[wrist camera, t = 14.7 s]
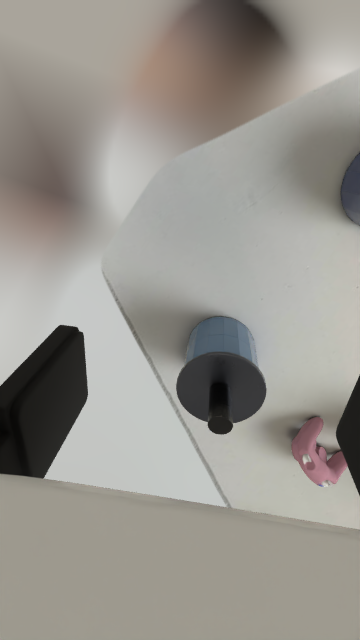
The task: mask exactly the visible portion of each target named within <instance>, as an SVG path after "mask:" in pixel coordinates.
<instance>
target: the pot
mask: <svg viewBox="0 0 360 640" xmlns="http://www.w3.org/2000/svg"><path fill="white" fill-rule="evenodd" d="M220 351H221V352H230V353H234V354H238V355H240V356H243V357H245V358H247V359H248V360H250V361H251V362H252V363H254V364H255V365H256V366H257V367H258V362H257V356H256V351H255V345H254V339H253V337H252V335H251V333H250V331H249V330H248V328H247V327H246V326H245V325H243V324H242V323H241V322H239V321H237V320H235V319H232V318H228V317H213V318H209V319H207V320H204V321H203V322H201V323H199V324H198V325H197V326H196V327H195V328H194V329H193V331H192V333H191V335H190V337H189V342H188V346H187V351H186V357H185V362H184V366H185V365H186V364H187V363H188V362H189V361H190V360H192V359H193V358H195V357H197V356H199V355H202V354H205V353H209V352H220Z"/></svg>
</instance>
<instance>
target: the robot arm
mask: <svg viewBox="0 0 360 640" xmlns="http://www.w3.org/2000/svg"><path fill="white" fill-rule="evenodd" d="M85 362H86V361H85V348H84V335H83V332H79V330H78V328H77V327H73V326H65V325H60V326H58V327H57V328H56V329H55V330H54V331H53V332H52V333H51V334H50V335H49V336H48V338H47V339H45V341H44V342H43V343H42V344H41V345H40V346H39V347H38V348H37V349H36V350H35V351H34V352H33V353H32V354H31V355H30V356H29V357H28V358H27V359H26V360H25V361H24V362H23V363H22V364H21V365H20V366H19V367H18V368H17V369H16V370H15V371H14V372H13V373H12V375H11V376H10V377H9V378H8V379H7V380H6V381H5V382H4V383H3V384H2V385H1V386H0V640H360V530H358V529H352V528H346V527H340V526H334V525H328V524H322V523H316V522H311V521H305V520H299V519H293V518H287V517H281V516H275V515H269V514H263V513H257V512H251V511H245V510H239V509H233V508H227V507H220V506H214V505H208V504H202V503H196V502H190V501H184V500H177V499H172V498H165V497H159V496H153V495H147V494H140V493H133V492H127V491H121V490H114V489H109V488H103V487H96V486H90V485H84V484H76V483H70V482H63V481H56V480H48V479H43V478H44V477H45V475H46V473H47V471H48V469H49V467H50V466H51V464H52V462H53V460H54V459H55V457H56V455H57V453H58V451H59V450H60V448H61V446H62V444H63V442H64V441H65V439H66V437H67V435H68V433H69V431H70V430H71V428H72V426H73V424H74V423H75V421H76V419H77V417H78V415H79V414H80V412H81V410H82V408H83V406H84V405H85V403H86V400H87V396H88V389H87V375H86V363H85ZM336 438H337V441H338V443H339V446H340V448H341V451H342V453H343V456H344V458H345V461H346V463H347V466H348V468H349V471H350V473H351V475H352V478H353V480H354V483H355V485H356V488H357V490H358V493H359V495H360V376H359V378H358V380H357V383H356V385H355V387H354V390H353V392H352V394H351V397H350V399H349V401H348V403H347V406H346V408H345V410H344V413H343V415H342V417H341V420H340V422H339V424H338V427H337V430H336Z"/></svg>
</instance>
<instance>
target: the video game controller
mask: <svg viewBox="0 0 360 640" xmlns="http://www.w3.org/2000/svg"><path fill="white" fill-rule="evenodd" d="M322 427H323V420H322V419H321V418H320V417H314V418H312V419H310V420H309V421H307V422H306V423H305V424H304V425H303V426H302V428H301V429H300V431H299V432H298V434H297V436H296V437H295V438H294V439H293V441H292V445H291V446H292V453H293V456H294V458H295V459H296V460H297V461H298V462H299V464H300V466H301V468H302V470H303V471H304V472H305V474H306V475H307V476H308V477H309V479H310V480H312V481H313V482H314V483H316V484H317V485H319V486H323V487H324V486H325V487H327V486H329V485H330V486H333V484H335V483H336V482H337V481H338V479H339V477H340V476H341V474H342V473H343V471H344V470H345V469H346V468H347V463H346V461H345V458H344V456H343V453H342V451H340V452H338V453H336V454H334V455H333V456H332V457H331V458H330V459H329V460H328V461H327V456H326V451H325V449H324V448H323V447H316V438H317V436H318V435H319V433H320V432H321V430H322Z"/></svg>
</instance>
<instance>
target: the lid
mask: <svg viewBox="0 0 360 640" xmlns="http://www.w3.org/2000/svg"><path fill="white" fill-rule="evenodd" d="M176 390H177V395H178V398H179V400H180V402H181V404H182V405H183V407H184V408H185V409H186V410H187V411H188V412H189V413H190V414H192V415H193V416H195V417H196V418H198V419H201V420H203V421H206V422H208V428H209V429H210V430H211V431H212V432H213V433H215V434H227V433H229V432H230V431H231V430H232V428H233V423H237V422H240V421H243V420H245V419H247V418H249V417H251V416H252V415H253V414H255V413H256V412H257V411H258V410H259V409H260V407H261V406H262V404H263V402H264V400H265V397H266V383H265V379H264V376H263V375H262V373H261V371H260V370H259V368H258V367H257V366H256V365H255V364H254V363H252V362H251V361H250V360H248V359H247V358H245V357H243V356H240V355H238V354H234V353H230V352H221V351H220V352H209V353H205V354H202V355H199V356H197V357H195V358H193V359H192V360H190V361H189V362H188V363H187V364H186V365H185V366H184V367H183V368H182V370H181V372H180V373H179V376H178V379H177V384H176Z"/></svg>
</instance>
